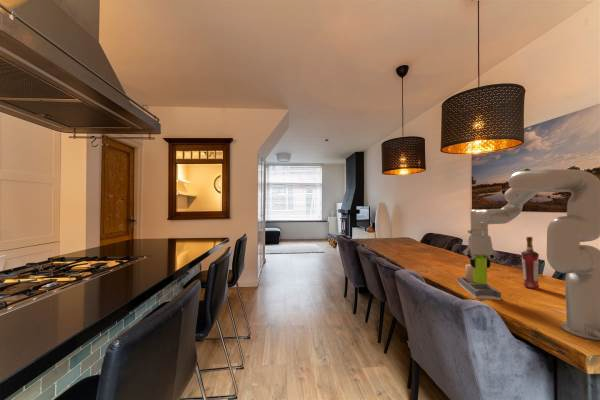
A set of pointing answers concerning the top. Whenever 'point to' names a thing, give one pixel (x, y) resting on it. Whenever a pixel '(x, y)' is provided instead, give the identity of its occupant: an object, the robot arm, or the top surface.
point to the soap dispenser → (480, 269)
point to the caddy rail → (477, 286)
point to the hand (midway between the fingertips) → (480, 266)
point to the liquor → (530, 265)
